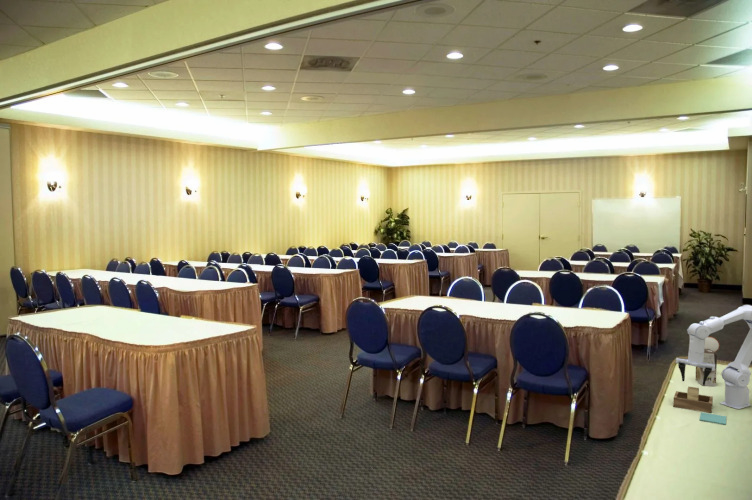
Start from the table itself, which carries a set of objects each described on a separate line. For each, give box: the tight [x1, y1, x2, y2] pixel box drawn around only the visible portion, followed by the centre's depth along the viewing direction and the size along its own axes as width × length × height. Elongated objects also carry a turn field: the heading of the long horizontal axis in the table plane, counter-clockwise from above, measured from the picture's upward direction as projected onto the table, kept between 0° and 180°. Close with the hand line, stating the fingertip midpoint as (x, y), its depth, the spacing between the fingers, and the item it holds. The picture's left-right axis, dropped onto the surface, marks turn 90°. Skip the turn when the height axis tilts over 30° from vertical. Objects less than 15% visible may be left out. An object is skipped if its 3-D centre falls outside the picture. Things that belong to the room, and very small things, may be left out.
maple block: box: [686, 386, 700, 401], centre depth 235 cm, size 4×4×6 cm
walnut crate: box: [672, 390, 714, 414], centre depth 236 cm, size 10×14×4 cm
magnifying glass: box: [704, 335, 721, 353], centre depth 277 cm, size 9×2×20 cm, turn 53°
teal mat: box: [699, 411, 727, 426], centre depth 222 cm, size 9×9×1 cm
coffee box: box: [695, 349, 718, 387], centre depth 265 cm, size 9×6×16 cm
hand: (693, 382), depth 234 cm, fingers open, 7 cm apart
